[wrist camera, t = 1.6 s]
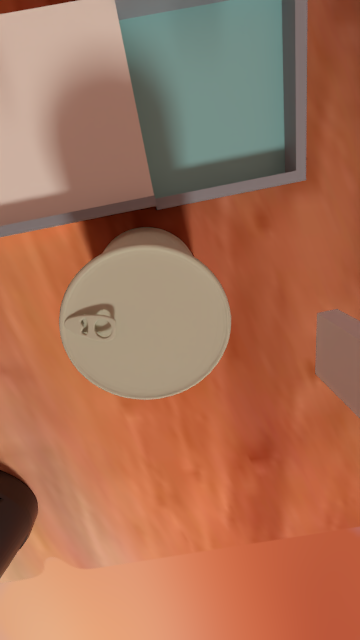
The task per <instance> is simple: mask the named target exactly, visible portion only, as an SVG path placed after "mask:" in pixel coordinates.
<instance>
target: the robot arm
mask: <svg viewBox="0 0 360 640" xmlns="http://www.w3.org/2000/svg"><path fill="white" fill-rule="evenodd" d="M315 374H316V375H317V376H318V377H319V378H320V379H321V380H322V381H323V382H324V383H325V384H326V385H327V386H328V387H329V388H330V389H331V390H332V391H333V392H334V393H335V394H336V395H337V396H338V397H339V398H340V399H341V400H342V401H343V402H344V403H345V404H346V405H347V406H348V407H349V408H350V409H351V410H352V411H353V412H354V413H355V414H356V415H357V416H358V417H359V418H360V321H358V320H357V319H355V318H353V317H351V316H349V315H347V314H345V313H344V312H342V311H340V310H338V309H335V310H330V311H325V312H320V313H317V336H316V368H315ZM37 513H38V505H37V501H36V498H35V496H34V494H33V493H32V492H31V490H30V489H29V488H28V487H27V486H26V485H25V484H24V483H22V482H21V481H20V480H18V479H16V478H15V477H13V476H11V475H9V474H7V473H4V472H2V471H0V578H1V576H2V575H3V573H4V572H5V570H6V569H7V567H8V566H9V564H10V563H11V561H12V560H13V558H14V556H15V555H16V553H17V552H18V550H19V549H20V548H21V547H22V546H23V544H24V543H25V542H26V540H27V539H28V537H29V535H30V533H31V530H32V528H33V525H34V522H35V519H36V517H37Z"/></svg>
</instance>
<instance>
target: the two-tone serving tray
mask: <svg viewBox="0 0 360 640" xmlns="http://www.w3.org/2000/svg"><path fill="white" fill-rule="evenodd" d="M306 107H307V0H78V1H72V2H67V3H61V4H55V5H50V6H44V7H39V8H33V9H27V10H22V11H16V12H10V13H5V14H0V237H4V236H9V235H14V234H19V233H24V232H29V231H34V230H39V229H44V228H49V227H54V226H59V225H64V224H69V223H74V222H79V221H84V220H89V219H94V218H99V217H104V216H109V215H114V214H119V213H124V212H129V211H134V210H139V209H144V208H149V207H154V206H156V210H159V209H164V208H169V207H174V206H179V205H184V204H189V203H194V202H199V201H204V200H209V199H214V198H219V197H224V196H229V195H234V194H239V193H244V192H249V191H254V190H259V189H264V188H269V187H274V186H279V185H284V184H289V183H294V182H299V181H304V180H306Z"/></svg>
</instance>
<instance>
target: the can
mask: <svg viewBox="0 0 360 640" xmlns="http://www.w3.org/2000/svg"><path fill="white" fill-rule="evenodd" d="M59 327H60V335H61V339H62V343H63V346H64V348H65V351H66V353H67V355H68V357H69V358H70V360H71V362H72V363H73V365H74V366H75V367H76V368H77V370H78V371H79V372H80V373H81V374H82V375H83V376H84V377H85V378H87V379H88V380H89V381H90V382H92V383H93V384H95V385H96V386H98V387H99V388H101V389H103V390H105V391H107V392H110V393H112V394H115V395H118V396H121V397H126V398H132V399H159V398H164V397H168V396H172V395H175V394H178V393H181V392H183V391H185V390H187V389H189V388H191V387H192V386H194V385H196V384H197V383H199V382H200V381H201V380H203V379H204V378H205V377H206V376H207V375H208V374H209V373H210V372H211V371H212V370H213V368H214V367H215V366H216V365H217V363H218V362H219V360H220V359H221V357H222V355H223V353H224V351H225V349H226V346H227V343H228V340H229V336H230V329H231V314H230V307H229V303H228V300H227V297H226V294H225V292H224V290H223V288H222V286H221V284H220V282H219V281H218V279H217V278H216V277H215V275H214V274H213V273H212V272H211V271H210V270H209V269H208V268H207V267H206V266H205V265H204V264H203V263H202V262H200V261H199V260H198V259H196V258H195V257H194V256H193V255H192V253H191V251H190V250H189V249H188V247H187V246H186V245H185V244H184V243H183V242H182V241H181V240H180V239H179V238H178V237H176V236H175V235H173V234H172V233H170V232H167V231H165V230H162V229H159V228H153V227H140V228H134V229H131V230H128V231H126V232H124V233H122V234H120V235H119V236H117V237H116V238H115V239H113V240H112V241H111V242H110V243H109V244H108V246H107V247H106V248H105V250H104V252H103V253H102V254H100V255H99V256H97V257H95V258H94V259H92V260H91V261H90V262H89V263H87V264H86V265H85V266H84V267H83V268H82V269H81V270H80V271H79V272H78V273H77V274H76V276H75V277H74V278H73V280H72V281H71V283H70V284H69V286H68V288H67V290H66V292H65V294H64V297H63V300H62V304H61V308H60V317H59Z"/></svg>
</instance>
